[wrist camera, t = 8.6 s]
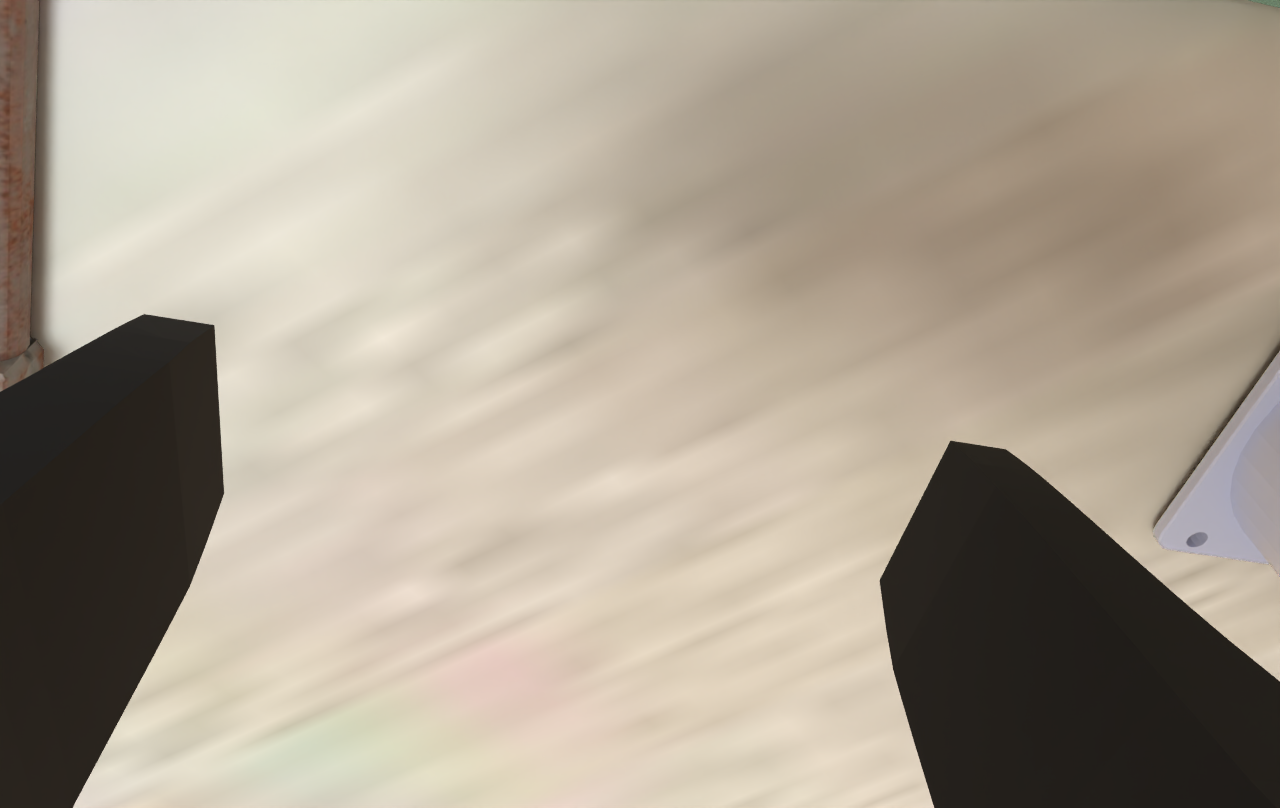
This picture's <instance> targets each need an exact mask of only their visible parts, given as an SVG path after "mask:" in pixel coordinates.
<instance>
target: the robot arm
mask: <svg viewBox="0 0 1280 808" xmlns="http://www.w3.org/2000/svg"><path fill="white" fill-rule="evenodd" d="M223 495H224V485H223V468H222V451H221V433H220V416H219V399H218V381H217V364H216V347H215V329H214V325H209V324H203V323H196V322H190V321H184V320H177V319H171V318H165V317H158V316H152V315H145V314H144V315H142V316H140V317H138V318H135V319H133V320H131V321H129V322H127V323H125V324H123V325H121V326H119V327H117V328H115V329H114V330H112V331H110V332H108V333H106V334H104V335H102V336H101V337H99V338H97V339H95V340H93V341H91V342H90V343H88V344H86V345H84V346H82V347H81V348H79V349H77V350H75V351H73V352H72V353H70V354H68V355H66V356H64V357H63V358H61V359H59V360H57V361H55V362H54V363H52V364H50V365H48V366H46V367H45V368H43V369H41V370H39V371H37V372H36V373H34V374H32V375H30V376H28V377H27V378H25V379H23V380H21V381H19V382H17V383H16V384H14V385H12V386H10V387H8V388H6V389H4V390H3V391H1V392H0V808H73V806H74V804H75V802H76V800H77V798H78V796H79V794H80V793H81V791H82V789H83V787H84V785H85V783H86V781H87V779H88V778H89V776H90V774H91V772H92V770H93V768H94V766H95V764H96V763H97V761H98V759H99V757H100V755H101V753H102V751H103V749H104V748H105V746H106V744H107V742H108V740H109V738H110V736H111V734H112V733H113V731H114V729H115V727H116V725H117V723H118V721H119V720H120V718H121V716H122V714H123V712H124V710H125V708H126V706H127V705H128V703H129V701H130V699H131V697H132V695H133V693H134V691H135V690H136V688H137V686H138V684H139V682H140V680H141V678H142V677H143V675H144V673H145V671H146V669H147V667H148V665H149V663H150V662H151V660H152V658H153V656H154V654H155V652H156V650H157V648H158V646H159V644H160V643H161V641H162V639H163V637H164V635H165V633H166V631H167V629H168V627H169V625H170V623H171V622H172V620H173V618H174V616H175V614H176V612H177V610H178V608H179V606H180V604H181V602H182V600H183V598H184V596H185V595H186V593H187V591H188V589H189V587H190V584H191V582H192V579H193V577H194V574H195V571H196V569H197V566H198V564H199V561H200V558H201V556H202V553H203V551H204V548H205V545H206V543H207V540H208V537H209V534H210V531H211V529H212V526H213V523H214V520H215V517H216V515H217V512H218V509H219V506H220V503H221V500H222V498H223ZM1153 536H1154V537H1155V539H1156V540H1157V542H1158V543H1159V545H1160V546H1161V547H1162V548H1164V549H1167V550H1173V551H1180V552H1187V553H1194V554H1201V555H1208V556H1215V557H1222V558H1228V559H1235V560H1242V561H1249V562H1256V563H1263V564H1270V565H1271V567H1272V568H1273V569H1274V570H1275V572H1276V573H1277V574H1278V575H1279V577H1280V351H1279V352H1278V354H1277V355H1276V357H1275V358H1274V359H1273V361H1272V362H1271V364H1270V365H1269V367H1268V368H1267V369H1266V371H1265V372H1264V374H1263V375H1262V376H1261V378H1260V379H1259V381H1258V382H1257V383H1256V385H1255V386H1254V388H1253V389H1252V390H1251V392H1250V393H1249V395H1248V396H1247V397H1246V399H1245V400H1244V402H1243V403H1242V404H1241V406H1240V407H1239V409H1238V410H1237V411H1236V413H1235V414H1234V416H1233V417H1232V418H1231V420H1230V421H1229V423H1228V424H1227V425H1226V427H1225V428H1224V430H1223V431H1222V432H1221V434H1220V435H1219V437H1218V438H1217V439H1216V441H1215V442H1214V444H1213V445H1212V446H1211V448H1210V449H1209V451H1208V452H1207V454H1206V455H1205V456H1204V458H1203V459H1202V461H1201V462H1200V463H1199V465H1198V466H1197V468H1196V469H1195V470H1194V472H1193V473H1192V475H1191V476H1190V477H1189V479H1188V480H1187V482H1186V483H1185V484H1184V486H1183V487H1182V489H1181V490H1180V491H1179V493H1178V494H1177V496H1176V497H1175V498H1174V500H1173V501H1172V503H1171V504H1170V505H1169V507H1168V508H1167V510H1166V511H1165V512H1164V514H1163V515H1162V517H1161V518H1160V519H1159V521H1158V522H1157V524H1156V525H1155V527H1154V529H1153ZM880 586H881V594H882V601H883V609H884V616H885V623H886V630H887V636H888V642H889V648H890V653H891V659H892V665H893V670H894V674H895V677H896V681H897V684H898V688H899V692H900V695H901V699H902V702H903V705H904V709H905V712H906V715H907V719H908V722H909V726H910V729H911V732H912V736H913V739H914V743H915V746H916V749H917V752H918V756H919V759H920V762H921V766H922V769H923V772H924V775H925V779H926V782H927V785H928V788H929V792H930V795H931V798H932V802H933V805H934V808H1280V681H1278V680H1277V679H1276V678H1275V677H1274V676H1272V675H1271V674H1270V673H1269V672H1267V671H1266V670H1265V669H1264V668H1262V667H1261V666H1260V665H1259V664H1257V663H1256V662H1255V661H1254V660H1253V659H1251V658H1250V657H1249V656H1248V655H1246V654H1245V653H1244V652H1243V651H1241V650H1240V649H1239V648H1238V647H1236V646H1235V645H1234V644H1233V643H1232V642H1230V641H1229V640H1228V639H1227V638H1226V637H1224V636H1223V635H1222V634H1221V633H1220V632H1218V631H1217V630H1216V629H1215V628H1214V627H1213V626H1211V625H1210V624H1209V623H1208V622H1207V621H1205V620H1204V619H1203V618H1202V617H1201V616H1200V615H1198V614H1197V613H1196V612H1195V611H1194V610H1192V609H1191V608H1190V607H1189V606H1188V605H1187V604H1186V603H1184V602H1183V601H1182V600H1181V599H1180V598H1179V597H1177V596H1176V595H1175V594H1174V593H1173V592H1172V591H1171V590H1169V589H1168V588H1167V587H1166V586H1165V585H1164V584H1163V583H1161V582H1160V581H1159V580H1158V579H1157V578H1156V577H1155V576H1154V575H1152V574H1151V573H1150V572H1149V571H1148V570H1147V569H1146V568H1144V567H1143V566H1142V565H1141V564H1140V563H1139V562H1138V561H1137V560H1135V559H1134V558H1133V557H1132V556H1131V555H1130V554H1129V553H1128V552H1126V551H1125V550H1124V549H1123V548H1122V547H1121V546H1120V545H1119V544H1117V543H1116V542H1115V541H1114V540H1113V539H1112V538H1111V537H1110V536H1108V535H1107V534H1106V533H1105V532H1104V531H1103V530H1102V529H1101V528H1099V527H1098V526H1097V525H1096V524H1095V523H1094V522H1093V521H1092V520H1090V519H1089V518H1088V517H1087V516H1086V515H1085V514H1084V513H1083V512H1081V511H1080V510H1079V509H1078V508H1077V507H1076V506H1075V505H1074V504H1072V503H1071V502H1070V501H1069V500H1068V499H1067V498H1066V497H1064V496H1063V495H1062V494H1061V493H1060V492H1059V491H1057V490H1056V489H1055V488H1054V487H1053V486H1052V485H1050V484H1049V483H1048V482H1047V481H1046V480H1045V479H1043V478H1042V477H1041V476H1040V475H1039V474H1037V473H1036V472H1035V471H1034V470H1032V469H1031V468H1030V467H1029V466H1027V465H1026V464H1025V463H1024V462H1022V461H1021V460H1020V459H1018V458H1017V457H1015V456H1014V455H1013V454H1011V453H1010V452H1009V451H1007V450H1006V449H1000V448H993V447H987V446H981V445H974V444H968V443H961V442H955V441H950V443H949V445H948V447H947V449H946V451H945V453H944V455H943V457H942V459H941V460H940V462H939V464H938V466H937V468H936V470H935V472H934V474H933V476H932V478H931V480H930V482H929V484H928V486H927V488H926V490H925V492H924V494H923V496H922V498H921V500H920V502H919V504H918V506H917V508H916V510H915V512H914V514H913V516H912V518H911V520H910V522H909V524H908V526H907V528H906V530H905V531H904V533H903V535H902V537H901V539H900V541H899V543H898V545H897V547H896V549H895V551H894V553H893V555H892V557H891V559H890V561H889V563H888V565H887V567H886V569H885V571H884V573H883V575H882V577H881V579H880Z"/></svg>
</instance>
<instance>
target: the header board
mask: <svg viewBox="0 0 1280 808" xmlns="http://www.w3.org/2000/svg"><path fill="white" fill-rule="evenodd" d="M1249 1H1253V2H1258V3H1262V4H1266V5H1270V6H1274V7H1278V8H1280V0H1249Z"/></svg>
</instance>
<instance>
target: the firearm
mask: <svg viewBox="0 0 1280 808" xmlns="http://www.w3.org/2000/svg"><path fill="white" fill-rule="evenodd" d="M38 29H39V0H0V392H1V391H3V390H4V389H6V388H8V387H10V386H12V385H14V384H16V383H17V382H19V381H21V380H23V379H25V378H27V377H28V376H30V375H32V374H34V373H36V372H37V371H39V370H41V369H43V359H44V349H43V348H42V347H41V346H40V344H39V343H38V342H37V339H33V338H30V317H31V281H32V245H33V209H34V173H35V137H36V101H37V65H38Z"/></svg>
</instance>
